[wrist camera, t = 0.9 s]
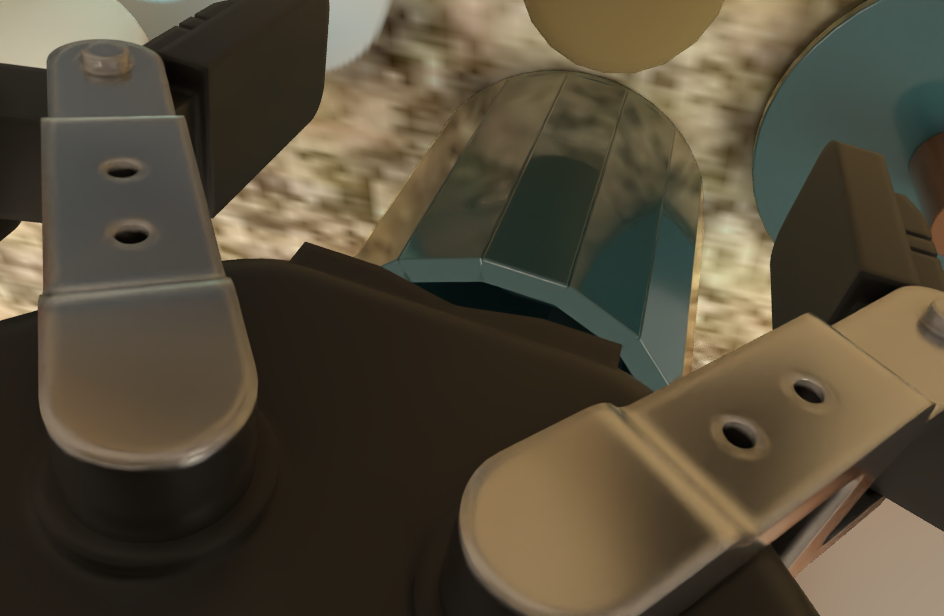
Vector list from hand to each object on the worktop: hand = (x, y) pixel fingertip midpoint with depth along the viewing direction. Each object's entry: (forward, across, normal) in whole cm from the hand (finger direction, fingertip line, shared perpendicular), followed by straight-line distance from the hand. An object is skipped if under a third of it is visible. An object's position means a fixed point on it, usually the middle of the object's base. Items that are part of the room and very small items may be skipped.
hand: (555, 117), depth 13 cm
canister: (+18, 0, +13) cm, 22 cm away
